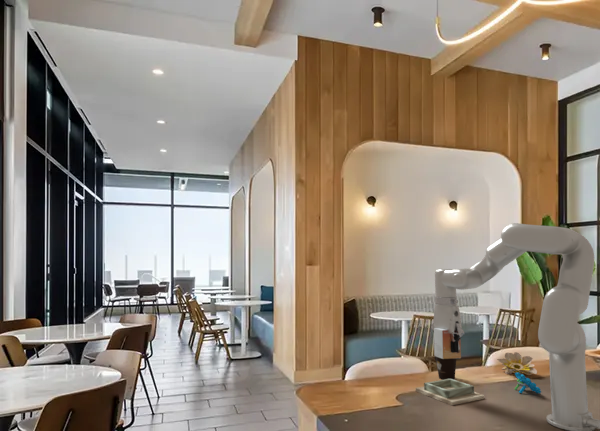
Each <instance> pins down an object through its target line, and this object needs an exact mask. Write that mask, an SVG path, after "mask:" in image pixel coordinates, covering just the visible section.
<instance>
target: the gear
mask: <svg viewBox="0 0 600 431" xmlns="http://www.w3.org/2000/svg"><path fill="white" fill-rule="evenodd" d="M514 375H515V378H517V380H516V382H517V383H516V386H515V387H514V390H515V391H517V390H518V388H520V387H521V388H520V390H519V391H518V393H519V394H520V393H521V394H522V393H523V392H524V391H525V390H526V389H528V388H529V389H530V390H531V392H535V393H536V394H541V393H542V391H541V388H540V387H539V386H537V384H536V383H535V382H532V380H531V378H529V377H526V375H524V374H523V373H521V374H520V373H519V372H518V373H514Z"/></svg>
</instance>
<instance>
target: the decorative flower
mask: <svg viewBox="0 0 600 431" xmlns="http://www.w3.org/2000/svg"><path fill="white" fill-rule="evenodd" d="M496 360H497V361H498V362H499V363H501V365H502V366H504V367H502V368H501V370H502V371H504V370H505V371H504V372H505V374H506V375H508V374H509V375H510V374H513V373H514V374H515V373H518V372H519V373H520V374H523V373H524V374H525V376H532V375H533V374H534V375H537V373H538V370H537V369H536V368H534V367H535V364H534V363H532V362H533V360H534V358H533V357H532V356H529V355H526V356H522V355H521V354H520V353H519V352H514V353H512V352H505V354H504V358H496Z"/></svg>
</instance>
